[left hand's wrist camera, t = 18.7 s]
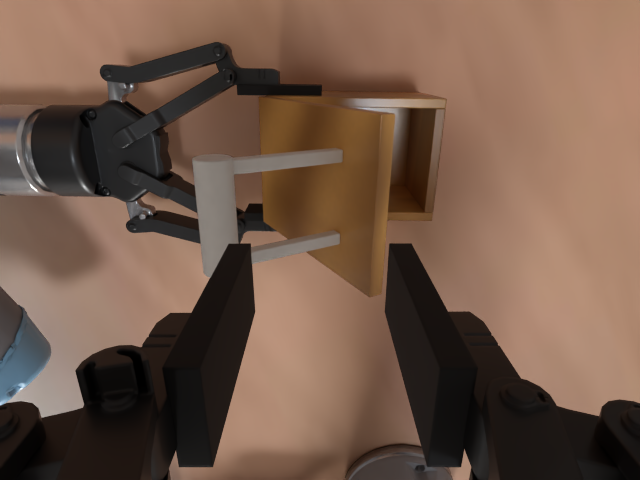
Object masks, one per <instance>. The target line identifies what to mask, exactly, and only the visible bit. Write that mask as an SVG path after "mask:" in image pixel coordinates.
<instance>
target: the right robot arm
mask: <svg viewBox="0 0 640 480" xmlns="http://www.w3.org/2000/svg"><path fill="white" fill-rule="evenodd" d="M215 63H216V65H217V68H218V70H219V72H218V73H217V74H215V75H213V76H212V77H210V78H208V79H207V80H205V81H203V82H202V83H200V84H198V85H197V86H195V87H193V88H192V89H190V90H188V91H187V92H185V93H184V94H182V95H180V96H179V97H177V98H175V99H174V100H172V101H170V102H169V103H167V104H165V105H164V106H162V107H160V108H159V109H157V110H155V111H153V112H151V113H149V114H147V115H146V114H145V113H143V112H142V111H140V110H139V109H138V108H136V107H135V106H133V105H132V104H130V103H129V102H127V101H126V97H127V95H128V94H130V93H134V92H136V91H137V90H138V83H143V82H151V81H155V80H158V79H162V78H165V77H169V76H173V75H176V74H180V73H183V72H187V71H190V70H194V69H197V68H201V67H204V66H208V65H211V64H215ZM100 74H101V77H102V78H103V79H104V80H105V81H107V83H108V95H109V101H106V102H105V103H103V104H102V105H50V106H48V107H47V106H44V105H30V104H0V195H23V196H55V195H61V196H91V197H115V198H118V199H120V200H122V201H124V202H126V205H127V208H128V212H129V216H130V220H129V221H128V222H127V224H126V228H127V230H128V231H130V232H132V233H141V232H157V233H161V234H165V235H168V236H172V237H176V238H180V239H184V240H188V241H192V242H196V243H200V244H201V242H200V232H199V222H198V219H195V218H191V217H187V216H183V215H180V214H176V213H172V212H168V211H160V210H158V211H156V210H155V207H154V206H151V205H147V204H145V203H144V202H143V201H142V200H141V197H142V196H144V195H145V194H146V193H148V192H149V191H150V192H152V193H154V194H156V195H158V196H160V197H162V198H165V199H171V200H173V201H175V202H177V203H179V204H181V205H183V206H185V207H187V208H189V209H191V210H193V211H195V212H196V213H198V212H197V203H196V193H195V186H194V185H192V184H190V183H188V182H187V181H185V180H183V178H182V177H181V176H179V175H177V174H175V173H174V172H172V171H170V169H172V164H171V159H170V156H169V153H168V144H169V139H168V133H165V131H164V129H163V128H164V127H166V126H167V125H169V124H171V123H172V122H174V121H176V120H177V119H178V118H180V117H182V116H183V115H185V114H187V113H188V112H190V111H192V110H194V109H195V108H197V107H199V106H200V105H202V104H204V103H205V102H207V101H209V100H210V99H212V98H214V97H215V96H217V95H219V94H221V93H222V92H224V91H226V90H227V89H229V88H231V87H232V86H234V85H237V94H238V95H299V96H322V85H308V84H280V72H279V71H277V70H275V69H247V68H241V67H239V66H238V65H237V64H236V63H235V60H234V58H233V55H232V50H231V48H230V47H229V46H228V45H226V44H223V43H219V42H214V43H211V44H207V45H204V46H200V47H197V48H194V49H190V50H187V51H183V52H180V53H176V54H173V55H169V56H166V57H162V58H159V59H155V60H152V61H148V62H145V63H142V64H138V65H135V66H126V65H103V66H102V67H101V69H100ZM236 213H237V228H238V243H239V244H240V242H241V240H242V238H243V234H244V233H245V232H247V231H276V230H275V229H273V228H272V227H271V226H269V225H268V224H266V223H265V222H264V219H263V204H249V205H248V207H247V209H246V211H245V212H244V211H242V210H240V209H238V208H237V207H236ZM50 356H51V347H50V344H49V342H48V341H47V340H46V338H45V337H44V336H43V335H42V333H41V332H40V331H39V330H38V328H37V327H36V326H35V324H34V323H33V322H32V321H31V319H30V318H29V317H28V315H27V312H26V311H25V309H24V308H23V307H21V306H20V305H17V303H16V302H15V301H14V300H13V299H12V298H11V297H10V296H9V295H8V294H7V293H6V292H5V291H4V290H3V289H2V288H1V287H0V405H3V404H4V403H6V402H7V401H8V400H10V399H11V398H12V397H13V396H14V395H15V394H16V393H17V392H19V391H20V390H21V389H23V388H25V387H26V386H27V385H28V384H30V383H31V382H32V381H33V380H34V379H35V378H36V377H37V376H38V375H39V373H40V372H41V371H42V370H43V369H44V367H45V366H46V364H47V363H48V361H49V359H50Z"/></svg>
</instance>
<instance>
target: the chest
mask: <svg viewBox="0 0 640 480" xmlns="http://www.w3.org/2000/svg"><path fill="white" fill-rule="evenodd" d="M267 96H269V97H277V98H284V99H291V100H299V101H306V102H313V103H321V104H328V105H335V106H343V107H350V108H357V109H364V110H372V111H379V112H386V113H394V114H395V126H394V139H393V152H392V165H391V177H390V190H389V203H388V216H387V220H414V221H432V215H433V213H432V212H433V208H434V199H435V191H436V183H437V175H438V166H439V158H440V150H441V142H442V133H443V125H444V117H445V108H446V99H445V98H441V97H436V96H432V95H428V94H423V93H419V92H355V91H322V96H299V95H267Z"/></svg>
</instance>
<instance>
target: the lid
mask: <svg viewBox="0 0 640 480" xmlns="http://www.w3.org/2000/svg"><path fill="white" fill-rule="evenodd" d="M259 119H260V144H261V155H254V156H243V157H232V156H230V155H225V154H205V155H199V156H195V157H193V159H192V164H193V173H194V183H195V193H196V203H197V212H198V222H199V232H200V242H201V252H202V261H203V271H204V274H205V275H206V276H208V277H211V276H212V274H213V272H214V270H215V268H216V266H217V264H218V263H219V261H220V259H221V257H222V255H223V253H224V251H225V250H226V248H227V246H228V244H239V243H238V228H237V213H236V198H235V182H234V175H236V174H244V173H253V172H262V194H263V219H264V222H265V223H266V224H268V225H269V226H271V227H272V228H273V229H275V230H276V231H277V232H279V233H280V234H282V235H283V236H284V237H286V238H287V239H289V240H284V241H279V242H274V243H270V244H265V245H260V246H255V247H251V257H252V264H254V263H258V262H263V261H267V260H272V259H276V258H281V257H285V256H289V255H294V254H298V253H303V252H307V253H308V254H310V255H311V256H312V257H314V258H315V259H317V260H318V261H319V262H321V263H322V264H324V265H325V266H326V267H328V268H329V269H331V270H332V271H333V272H335V273H336V274H337V275H339V276H340V277H342V278H343V279H344V280H346V281H347V282H349V283H350V284H351V285H353V286H354V287H356V288H357V289H358V290H360V291H361V292H363V293H364V294H365V295H367V296H368V297H373V296H376V295H379V294H381V292H382V280H383V267H384V254H385V241H386V229H387V216H388V203H389V190H390V177H391V165H392V152H393V139H394V126H395V114H394V113H386V112H379V111H372V110H364V109H357V108H350V107H343V106H335V105H328V104H321V103H313V102H306V101H299V100H291V99H284V98H277V97H269V96H265V97H259Z"/></svg>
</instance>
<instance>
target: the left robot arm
mask: <svg viewBox="0 0 640 480" xmlns="http://www.w3.org/2000/svg"><path fill="white" fill-rule="evenodd" d="M254 314H255V302H254V287H253V272H252V257H251V244H228V246H227V248H226V250H225V251H224V253H223V255H222V257H221V259H220V261H219V263H218V264H217V266H216V268H215V270H214V272H213V274H212V276H211V277H210V279H209V281H208V283H207V285H206V287H205V289H204V291H203V292H202V294H201V296H200V298H199V300H198V302H197V304H196V305H195V307H194V309H193V311H192V313H170V314H169V315H167V316H166V317H164V318H163V319H162V320H160V321H159V322H158V323H156V325H155V326H154V328H153V329H152V331H151V333H150V334H149V337H147V339H146V340H145V342H144V343H143V346H142V347H137V346H133V345H120V346H115V347H111V348H106V349H104V350H101V351H99V352H97V353H95V354H92V355H91V356H90V357H88V358H87V359H86V360H84V361H83V362H82V363H81V364H80V365H79V367H78V368H77V369H76V375H77V379H78V382H79V386H80V390H81V394H82V397H83V401H84V407H83V408H81V409H77V410H74V411H70V412H66V413H61V414H57V415H52V416H48V417H44V418H41V415H40V412H39V409H38V408H37V407H36V406H35V405H34V404H33V403H28V402H22V401H20V402H12V403H6V404H3V405H0V480H171V478H170V472H169V466H170V464H171V461H172V459H173V456H174V453H175V451H176V452H177V458H178V464H179V467H213V465H214V461H215V457H216V454H217V450H218V446H219V443H220V439H221V435H222V432H223V428H224V424H225V421H226V417H227V413H228V410H229V406H230V402H231V399H232V395H233V391H234V388H235V384H236V380H237V377H238V373H239V369H240V366H241V362H242V358H243V355H244V351H245V347H246V343H247V340H248V336H249V332H250V329H251V325H252V321H253V318H254ZM385 314H386V318H387V321H388V325H389V329H390V332H391V336H392V340H393V343H394V347H395V351H396V355H397V358H398V362H399V366H400V369H401V373H402V377H403V380H404V384H405V388H406V391H407V395H408V399H409V402H410V406H411V410H412V413H413V417H414V421H415V424H416V428H417V432H418V435H419V439H420V443H421V446H422V448H420V447H416V446H409V445H395V446H387V447H383V448H379V449H376V450H374V451H371V452H369V453H367V454H366V455H364V456H362V457H361V458H360V459H358V460H357V461H356V462H355V463H354V464H353V465H352V466H351V468H350V469H349V471H348V472H347V475H346V477H345V480H453V479H452V476H451V472H450V470H449V468H448V467H461V464H462V458H463V452H464V449H465V451H466V454H467V457H468V459H469V462H470V464H471V472H470V478H469V480H640V403H637V402H634V401H626V400H614V401H608V402H607V403H606V404H605V405H604V406H602V409H601V412H600V415H599V416H595V415H591V414H586V413H582V412H578V411H573V410H569V409H565V408H562V407H559V406H556V404H555V402H554V401H553V399H552V397H551V396H550V395H549V394H548V393H547V392H546V391H545V390H543V389H542V388H541V387H540V386H538V385H536V384H534V383H532V382H530V381H528V380H524V379H521V378H520V376H519V375H518V373H517V372H516V370H515V369H514V367H513V366H512V364H511V363H510V361H509V360H508V358H507V357H506V355H505V354H504V352H503V351H502V349H501V347H500V346H498V343H497V341H496V340H495V338H494V337H493V336H491V332H490V331H489V329H488V328H487V326H486V325H485V323H484V322H483V321H482V320H480V319H479V318H478V317H476V316H475V315H473V314H472V313H471V312H448V311H447V309H446V307H445V305H444V304H443V302H442V300H441V298H440V296H439V294H438V292H437V291H436V289H435V287H434V285H433V283H432V281H431V279H430V277H429V276H428V274H427V272H426V270H425V268H424V266H423V264H422V263H421V261H420V259H419V257H418V255H417V253H416V251H415V250H414V248H413V246H412V244H389V257H388V272H387V287H386V302H385Z"/></svg>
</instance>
